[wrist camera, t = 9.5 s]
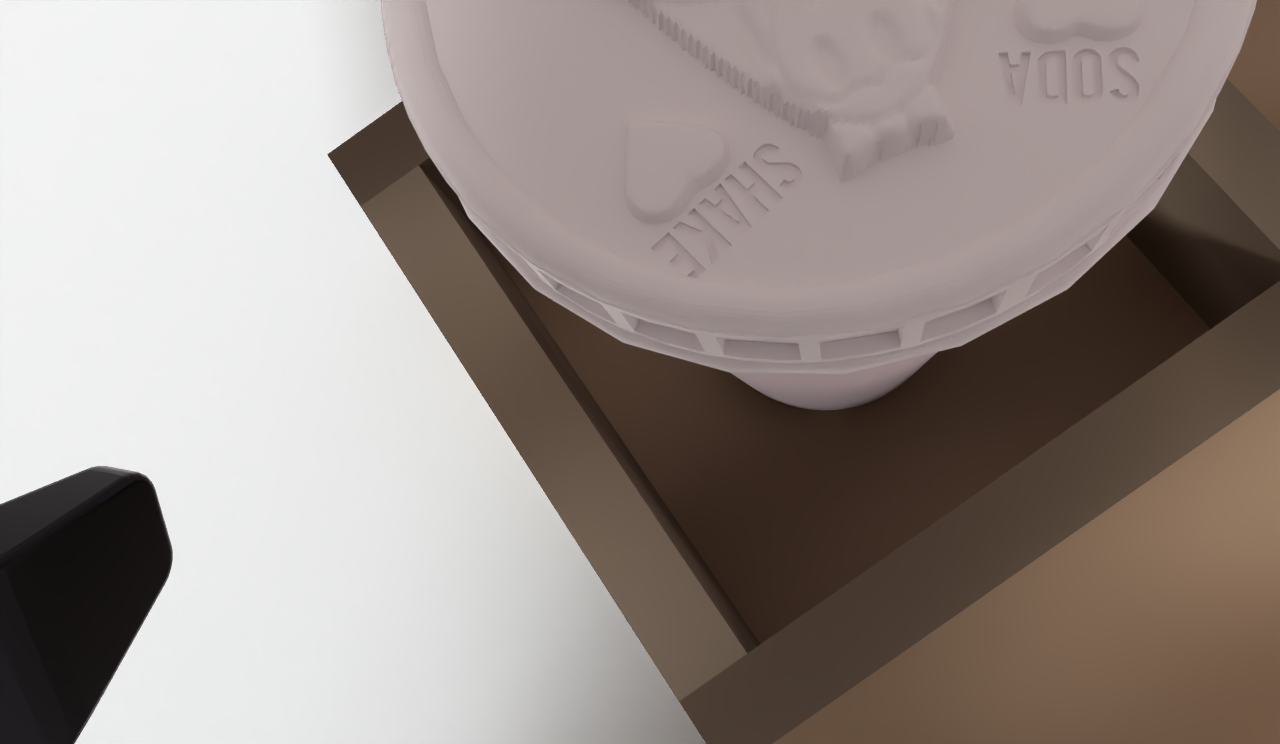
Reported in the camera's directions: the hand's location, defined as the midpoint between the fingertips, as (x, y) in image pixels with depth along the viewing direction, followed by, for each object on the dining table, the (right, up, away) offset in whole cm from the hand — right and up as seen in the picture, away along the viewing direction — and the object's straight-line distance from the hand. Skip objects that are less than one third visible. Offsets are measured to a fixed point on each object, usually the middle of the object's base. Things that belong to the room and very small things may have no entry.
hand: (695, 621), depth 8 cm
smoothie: (+2, +3, +9) cm, 10 cm away
